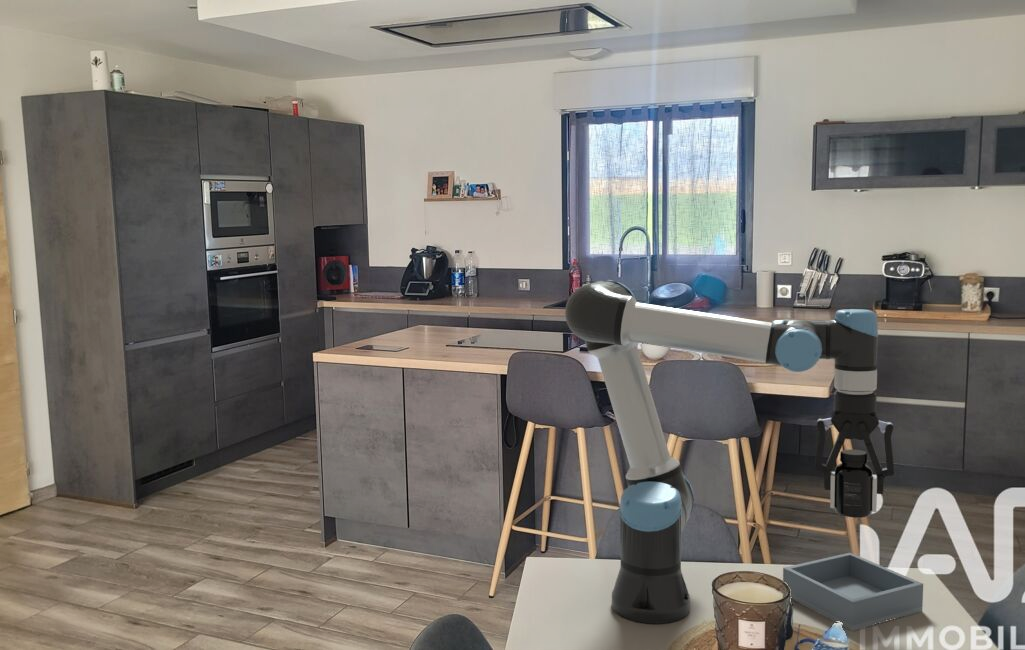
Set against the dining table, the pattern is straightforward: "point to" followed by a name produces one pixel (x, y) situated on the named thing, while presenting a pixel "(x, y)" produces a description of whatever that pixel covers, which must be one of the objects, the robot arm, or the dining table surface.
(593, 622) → the dining table surface
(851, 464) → the supplement bottle
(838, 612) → the open box
